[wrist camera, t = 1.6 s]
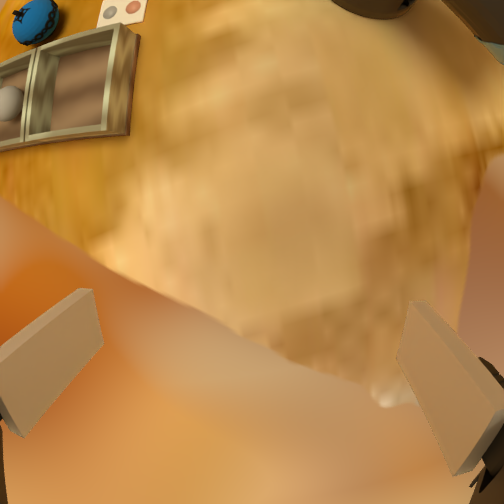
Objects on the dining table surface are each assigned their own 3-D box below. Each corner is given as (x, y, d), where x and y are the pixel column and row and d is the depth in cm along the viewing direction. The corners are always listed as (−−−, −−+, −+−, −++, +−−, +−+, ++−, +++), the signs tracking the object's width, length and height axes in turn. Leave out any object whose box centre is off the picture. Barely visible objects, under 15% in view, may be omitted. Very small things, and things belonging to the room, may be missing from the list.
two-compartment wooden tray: (4, 75, 35) (-18, 71, 29) (140, 36, 33) (122, 20, 27) (-5, 152, 39) (-28, 154, 33) (129, 135, 37) (107, 131, 31)
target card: (103, 1, 31) (102, 0, 31) (149, -10, 31) (148, -11, 30) (96, 31, 33) (95, 30, 32) (143, 21, 32) (141, 20, 32)
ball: (11, 92, 35) (-13, 88, 29) (32, 84, 34) (8, 79, 29) (7, 124, 36) (-17, 123, 31) (28, 119, 36) (3, 117, 30)
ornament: (26, 46, 33) (-11, 35, 24) (49, 5, 31) (16, -12, 21) (52, 53, 34) (13, 39, 24) (77, 9, 32) (43, -12, 22)
